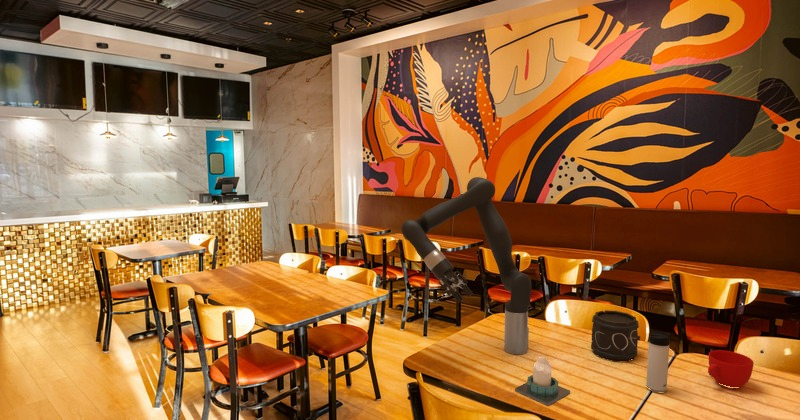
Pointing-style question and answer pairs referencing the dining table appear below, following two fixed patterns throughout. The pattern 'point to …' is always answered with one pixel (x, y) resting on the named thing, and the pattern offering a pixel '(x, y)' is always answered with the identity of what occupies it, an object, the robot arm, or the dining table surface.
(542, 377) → the white crystal
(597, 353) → the black coffee canister
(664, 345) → the travel mug
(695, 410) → the dining table surface
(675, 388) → the dining table surface
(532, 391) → the socket plate
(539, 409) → the dining table surface
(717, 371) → the ceramic cup
